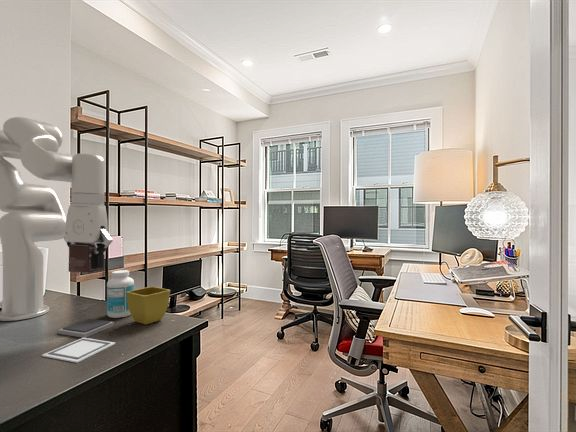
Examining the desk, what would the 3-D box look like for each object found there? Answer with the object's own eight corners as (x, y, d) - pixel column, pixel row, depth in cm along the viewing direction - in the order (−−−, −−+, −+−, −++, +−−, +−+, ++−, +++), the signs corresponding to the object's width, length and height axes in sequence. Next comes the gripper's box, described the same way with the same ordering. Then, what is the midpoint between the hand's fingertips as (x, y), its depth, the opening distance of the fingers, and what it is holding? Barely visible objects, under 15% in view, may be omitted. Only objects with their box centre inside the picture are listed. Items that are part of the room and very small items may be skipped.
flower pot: (152, 314, 97) (152, 285, 97) (171, 319, 93) (171, 289, 93) (125, 322, 90) (125, 291, 90) (144, 328, 85) (144, 296, 85)
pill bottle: (127, 309, 102) (128, 268, 102) (138, 314, 97) (138, 271, 97) (102, 315, 96) (103, 271, 96) (112, 320, 91) (113, 274, 91)
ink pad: (58, 333, 81) (58, 328, 81) (88, 322, 90) (88, 317, 90) (85, 337, 79) (85, 332, 79) (114, 325, 87) (114, 321, 87)
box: (87, 273, 81) (87, 245, 80) (67, 272, 82) (68, 244, 82) (105, 269, 87) (105, 243, 86) (86, 268, 88) (87, 242, 88)
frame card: (42, 356, 69) (42, 354, 69) (83, 338, 78) (83, 337, 78) (77, 362, 66) (77, 360, 66) (115, 343, 75) (115, 342, 75)
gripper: (50, 199, 83) (49, 267, 83) (101, 200, 78) (100, 272, 78) (76, 200, 90) (75, 262, 90) (125, 201, 85) (124, 267, 85)
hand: (87, 266), depth 84 cm, fingers closed on box, 6 cm apart
